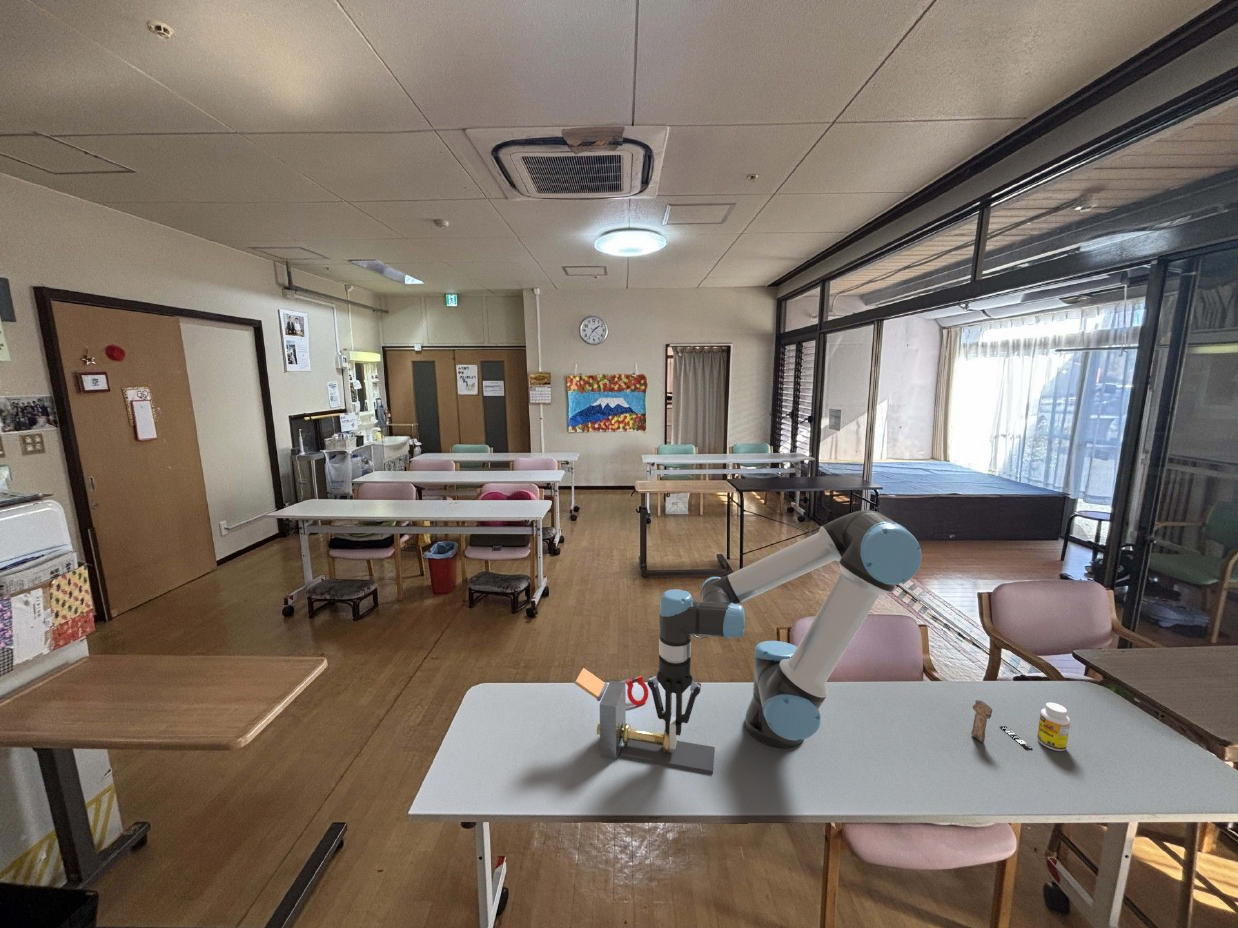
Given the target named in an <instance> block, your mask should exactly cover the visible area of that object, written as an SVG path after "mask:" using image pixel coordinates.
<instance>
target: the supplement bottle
mask: <svg viewBox="0 0 1238 928" xmlns="http://www.w3.org/2000/svg"><path fill="white" fill-rule="evenodd" d="M1070 727H1071V719H1070V717H1069V716H1068V710H1067V708H1066V707H1064V706H1063V705H1061V704H1058V703H1055V702H1046V703H1045V707H1044V708H1042V709H1041V710H1040V712H1039V720H1038V729H1037V737H1036V739H1037V740H1038V743H1040V744H1041V745H1043V747H1046V748H1047V749H1050V750H1052V751H1056V752H1062V751H1065V750H1066V749H1067V746H1068V739H1069V733H1070Z"/></svg>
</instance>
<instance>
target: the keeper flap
mask: <svg viewBox="0 0 1238 928" xmlns="http://www.w3.org/2000/svg"><path fill="white" fill-rule="evenodd" d="M574 685H576V686H577V687H579V688H580V689H581V690H583V691H584V692H586V693H587V694H589V695H590V696H591V697H593V698H595V699H596V701H597V702H601V700H602V698H603V696H604V694H605V692H606V689H607V687H608V685H609V683H607V682H605V681H603V680H602V679H600V678H599V677H597V676H596V675H595V674H593V673H592V672H590V671H589V670H587V669H586V668H585V667H583V668H582V670H581V671H580V673H579V675H578V676H577V678H576V679H575V681H574Z"/></svg>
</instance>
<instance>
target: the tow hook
mask: <svg viewBox="0 0 1238 928" xmlns="http://www.w3.org/2000/svg"><path fill="white" fill-rule="evenodd" d="M643 679H644V677H643V675H637V676H634V677H631V678H627V679H623V680H620V681H619V682H623V683H625V685H626V687H627V693H626V694H627V695H626V696H627V698H628V700H629V702H630V703H631V704H633V705H635V706H642V705H644V704H645V703H646V702H647V700H648V697H649V689H648V685H647V684H646V683H645V681H643ZM634 683H637V684H638V685H640V686H641V687H642V690H643V696H642V698H641V699H640V700H637V699H636V698H634V696H633V694H632V693H633V688H634Z"/></svg>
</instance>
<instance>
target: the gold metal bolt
mask: <svg viewBox="0 0 1238 928" xmlns="http://www.w3.org/2000/svg"><path fill="white" fill-rule="evenodd" d="M596 735H599V736H600V723H597V727H596ZM619 738H622V739H623V741H622V744H628V743H629V740H634V741H640V742H646V743H651V744H657V745H663V752H668V753H669V752H670V748H669V734H667V733H666V732H665V730H664V732H663V733H658V732H652V731H646V730H639V729H632V728H631V724H630V723H626V724H625V726H624V728H622V727H621V728H620V730H619Z"/></svg>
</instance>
